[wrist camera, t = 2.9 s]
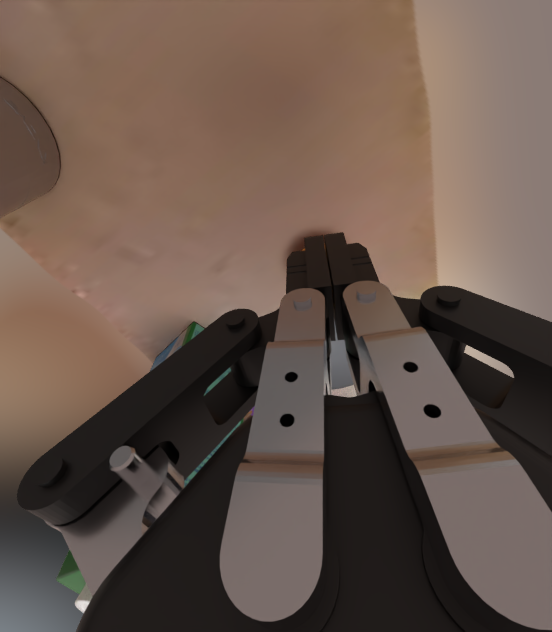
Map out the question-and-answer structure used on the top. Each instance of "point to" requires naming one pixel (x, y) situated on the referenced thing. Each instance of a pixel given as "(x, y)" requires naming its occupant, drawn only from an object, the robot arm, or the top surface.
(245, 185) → the top surface
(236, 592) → the robot arm
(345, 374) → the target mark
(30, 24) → the top surface
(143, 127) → the top surface
